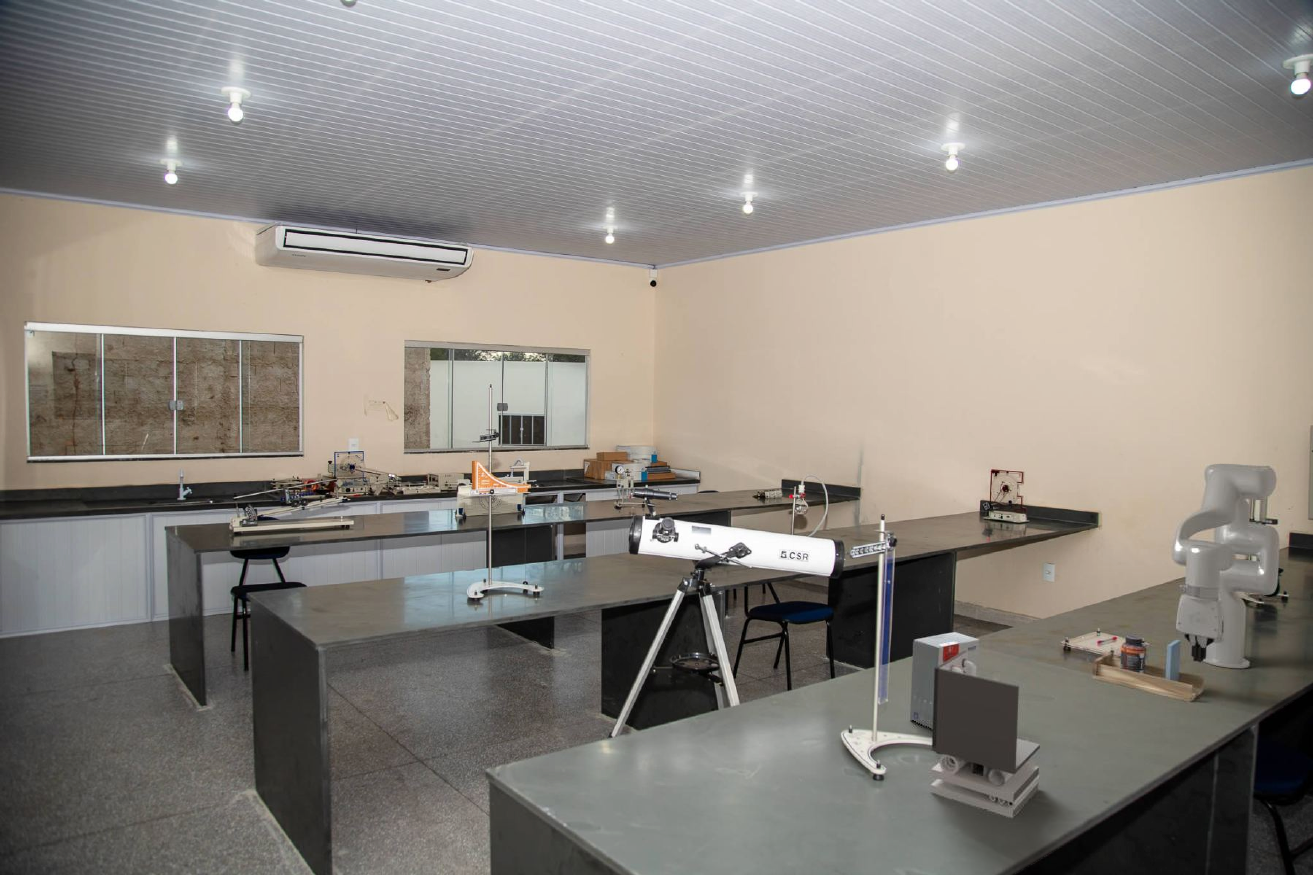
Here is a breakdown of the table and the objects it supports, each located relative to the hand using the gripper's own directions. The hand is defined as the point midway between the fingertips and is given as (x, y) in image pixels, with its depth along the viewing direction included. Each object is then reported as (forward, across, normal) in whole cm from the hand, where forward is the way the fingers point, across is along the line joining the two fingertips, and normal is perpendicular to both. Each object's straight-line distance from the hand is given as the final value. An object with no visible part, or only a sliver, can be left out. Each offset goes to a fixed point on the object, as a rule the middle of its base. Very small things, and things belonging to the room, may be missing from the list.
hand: (1198, 660), depth 223 cm
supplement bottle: (+9, -16, 0) cm, 18 cm away
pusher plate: (+8, -6, 0) cm, 10 cm away
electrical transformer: (+10, -13, -95) cm, 96 cm away
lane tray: (+10, -12, 0) cm, 15 cm away
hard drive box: (+10, -37, -67) cm, 77 cm away
